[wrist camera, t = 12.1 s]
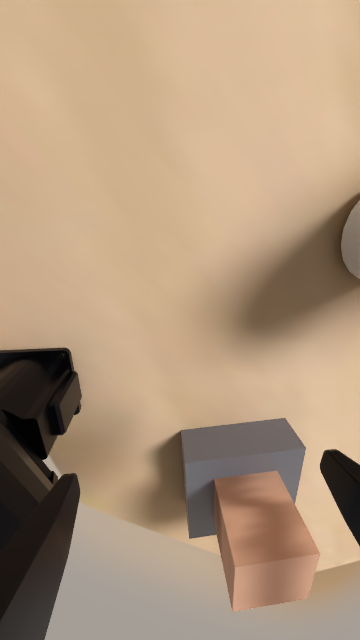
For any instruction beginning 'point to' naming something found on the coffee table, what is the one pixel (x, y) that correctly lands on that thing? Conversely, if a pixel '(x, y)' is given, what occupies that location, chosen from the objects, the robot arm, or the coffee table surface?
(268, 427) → the charcoal box
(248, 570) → the terracotta cube
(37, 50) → the coffee table surface
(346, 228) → the can
